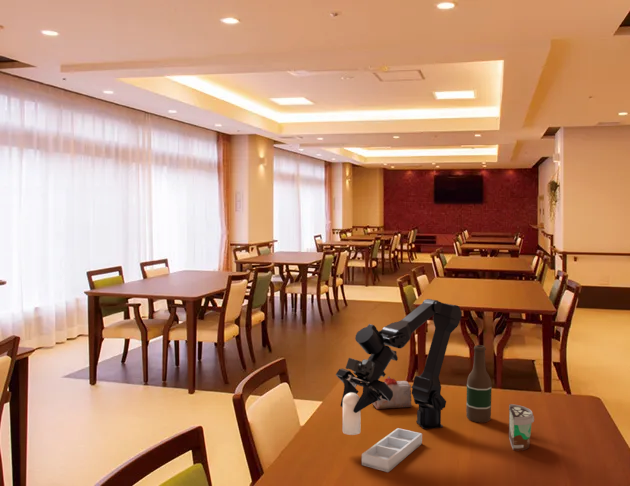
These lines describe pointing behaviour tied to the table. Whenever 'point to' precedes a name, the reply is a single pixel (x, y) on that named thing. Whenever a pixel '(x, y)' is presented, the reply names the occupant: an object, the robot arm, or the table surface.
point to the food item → (396, 395)
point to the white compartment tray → (391, 449)
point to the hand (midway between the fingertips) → (347, 409)
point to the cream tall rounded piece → (351, 414)
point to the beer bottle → (479, 389)
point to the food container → (520, 426)
